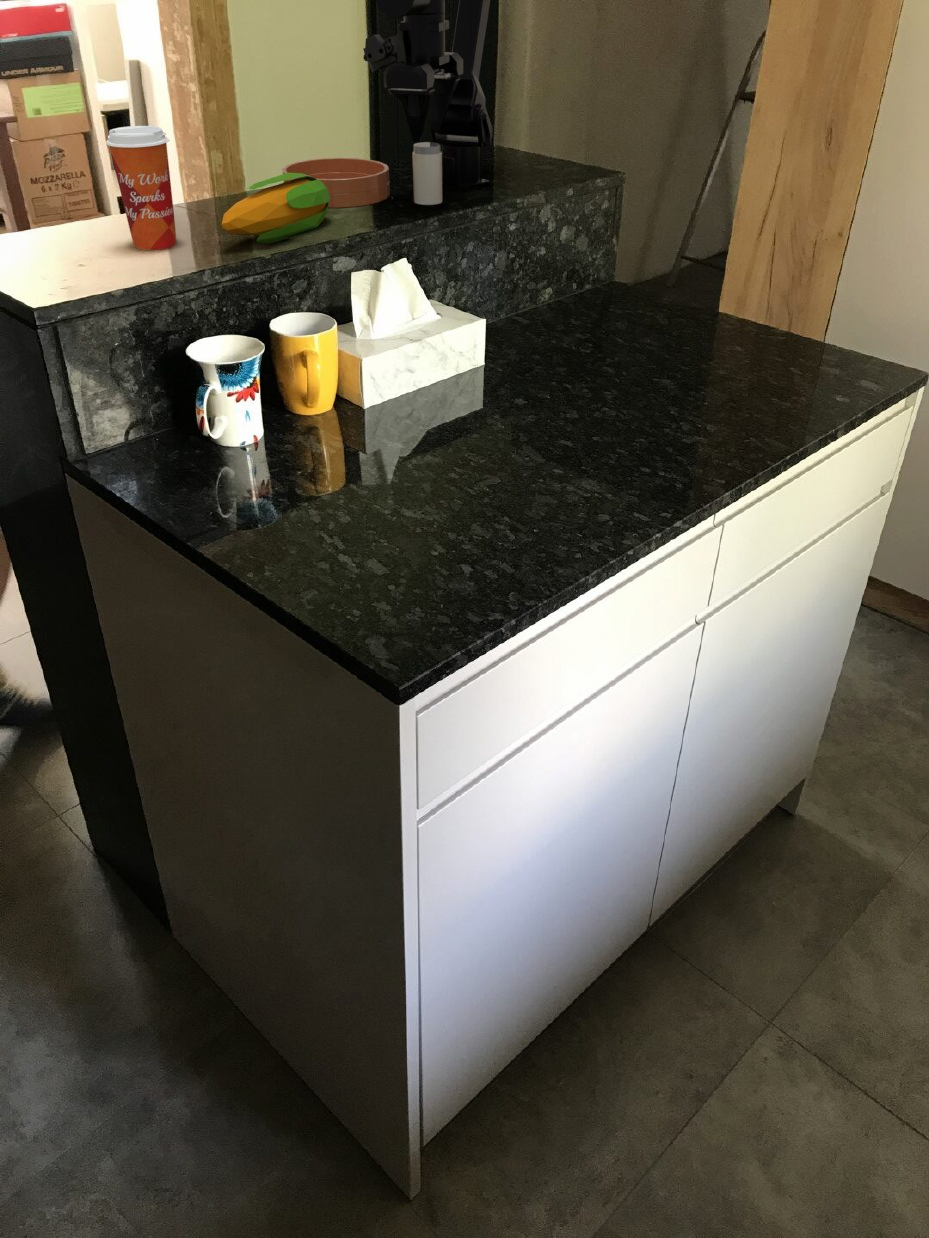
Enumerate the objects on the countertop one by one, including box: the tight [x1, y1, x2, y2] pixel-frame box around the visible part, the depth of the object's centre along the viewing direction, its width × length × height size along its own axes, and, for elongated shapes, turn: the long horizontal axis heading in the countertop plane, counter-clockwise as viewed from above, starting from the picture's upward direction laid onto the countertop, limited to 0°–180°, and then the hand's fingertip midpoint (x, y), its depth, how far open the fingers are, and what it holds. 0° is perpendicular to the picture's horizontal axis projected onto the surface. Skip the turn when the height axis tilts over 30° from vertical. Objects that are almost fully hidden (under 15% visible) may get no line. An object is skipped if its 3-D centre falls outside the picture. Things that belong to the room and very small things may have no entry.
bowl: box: [281, 157, 391, 209], centre depth 154 cm, size 16×16×4 cm
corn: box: [221, 173, 330, 244], centre depth 135 cm, size 7×8×20 cm
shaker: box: [412, 141, 444, 206], centre depth 150 cm, size 4×4×8 cm
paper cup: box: [105, 125, 177, 251], centre depth 130 cm, size 8×8×14 cm
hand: (426, 136), depth 147 cm, fingers open, 9 cm apart
